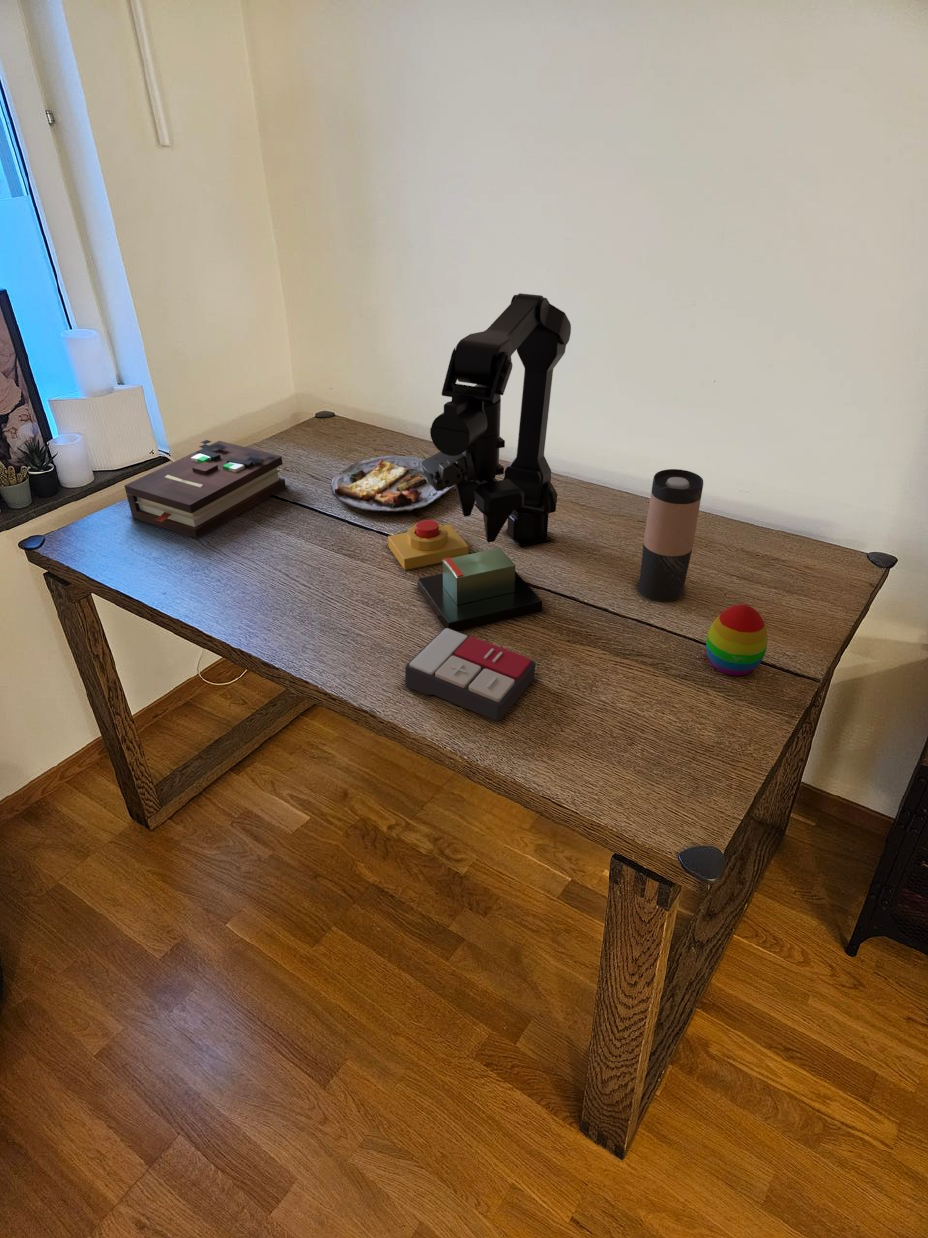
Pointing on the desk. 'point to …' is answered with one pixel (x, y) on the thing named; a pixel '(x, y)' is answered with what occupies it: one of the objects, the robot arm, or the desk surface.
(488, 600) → the black square platform
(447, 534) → the button block
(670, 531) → the travel mug
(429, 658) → the calculator
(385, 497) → the food plate
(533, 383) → the robot arm
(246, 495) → the decorative book
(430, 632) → the desk surface
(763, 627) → the decorative egg
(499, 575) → the box
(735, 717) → the desk surface
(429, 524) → the button
